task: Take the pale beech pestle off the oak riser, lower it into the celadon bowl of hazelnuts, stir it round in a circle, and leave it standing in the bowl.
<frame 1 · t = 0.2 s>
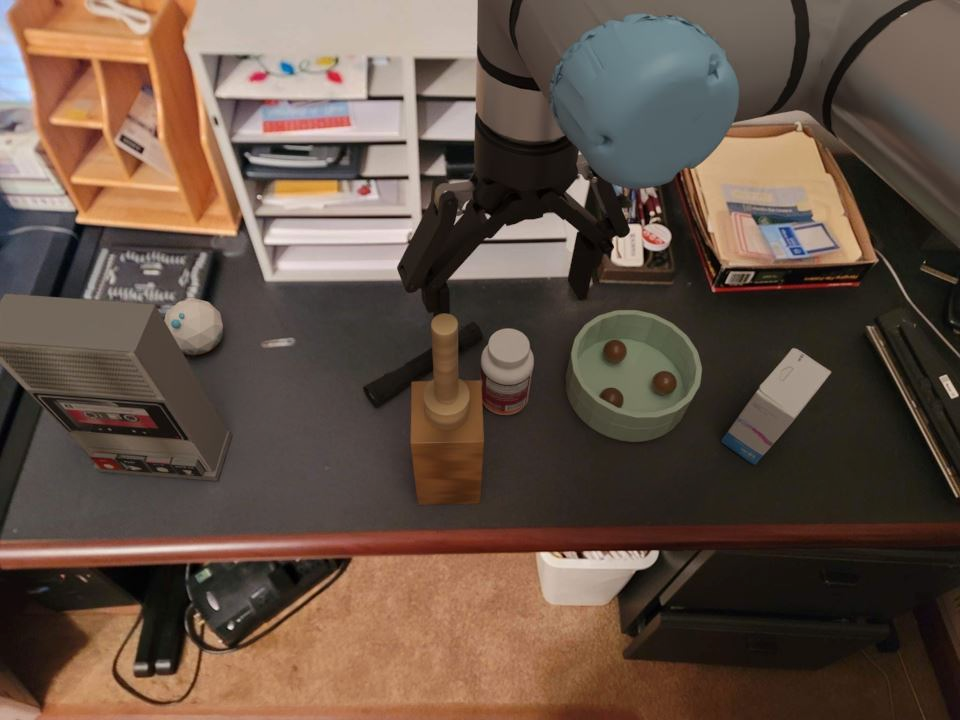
hand: (510, 308, 65), 23 cm above the table, tool pointing down, fingers open, 13 cm apart
hazelnut c: (664, 383, 86), point 2 cm above the table, touching bowl
hazelnut a: (614, 351, 88), point 2 cm above the table, touching bowl
ornament: (203, 344, 90), on the table
hazelnut b: (611, 399, 84), point 2 cm above the table, touching bowl
ink box: (755, 433, 85), on the table
pill bottle: (503, 396, 87), on the table
flashlight: (425, 370, 89), on the table
riser: (448, 476, 80), on the table
bowl: (626, 387, 88), on the table
pestle: (446, 410, 68), point 15 cm above the table, touching riser
cassette tape recorder: (167, 455, 81), on the table
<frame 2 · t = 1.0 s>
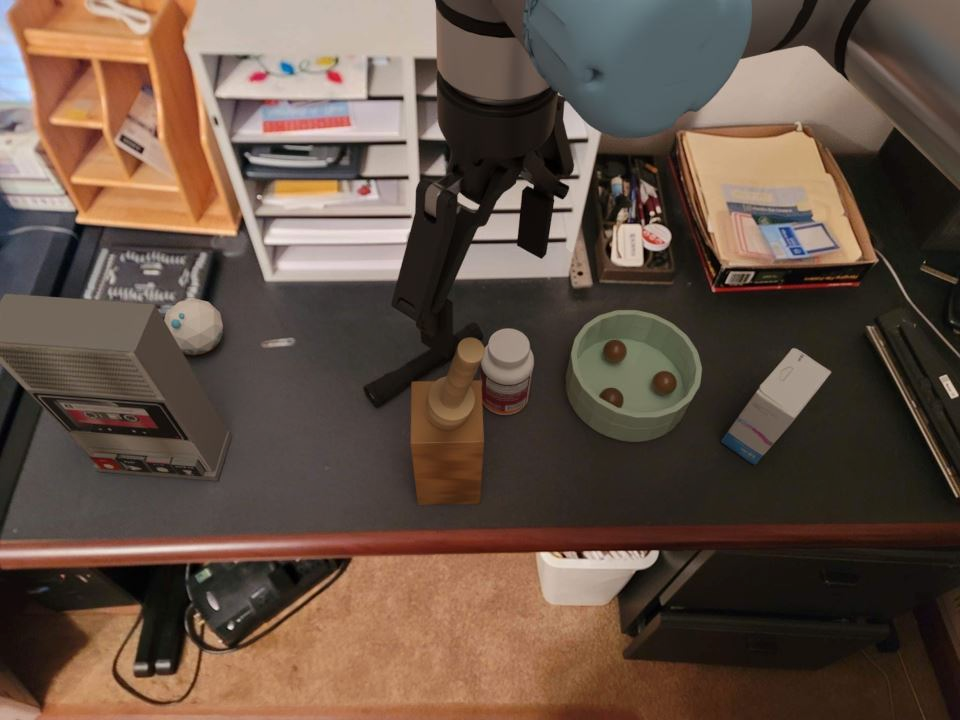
hand: (486, 296, 60), 28 cm above the table, tool pointing down, fingers open, 13 cm apart
pestle: (447, 408, 68), point 16 cm above the table, tilted 14°, touching gripper, riser
everything else where it was.
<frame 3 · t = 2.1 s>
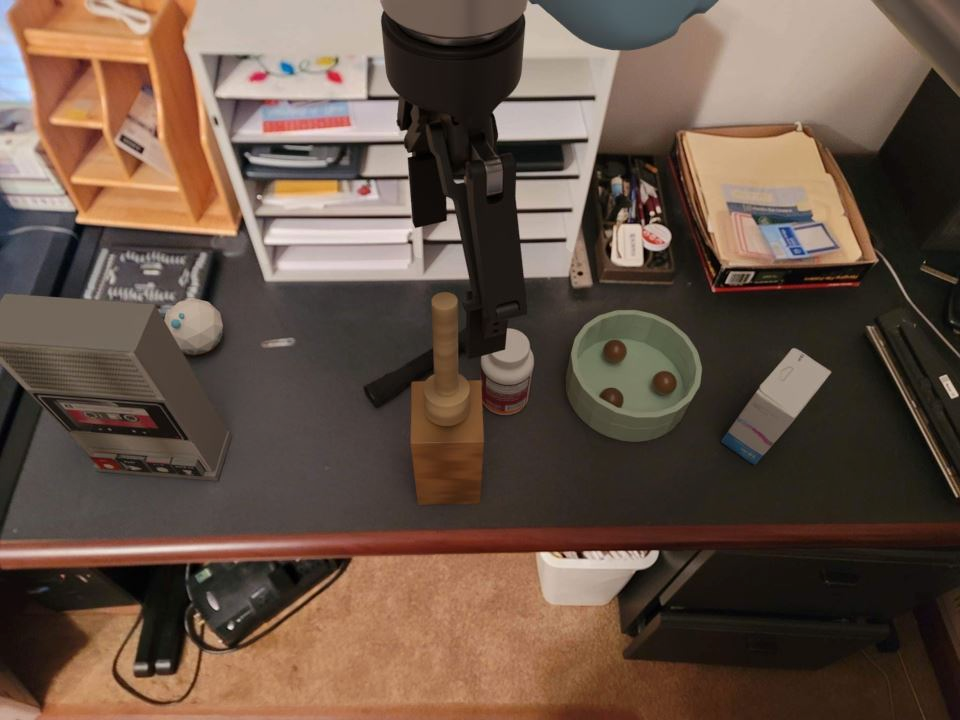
hand: (455, 282, 53), 33 cm above the table, tool pointing down, fingers open, 13 cm apart
pestle: (446, 408, 68), point 15 cm above the table, tilted 9°, touching riser
everything else where it was.
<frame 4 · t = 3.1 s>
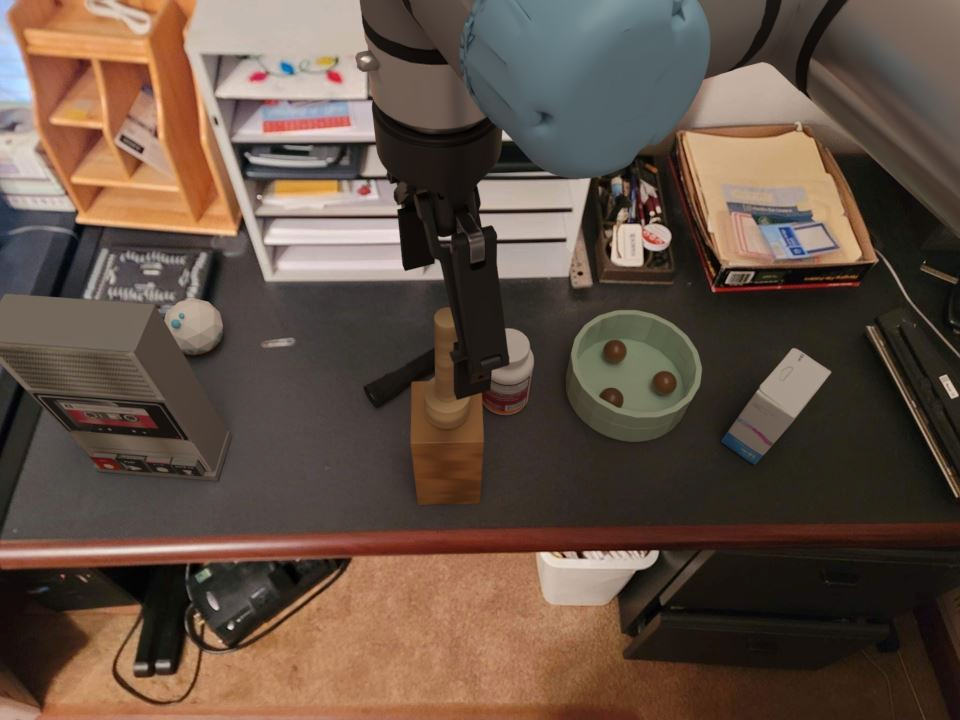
hand: (443, 324, 57), 29 cm above the table, tool pointing down, fingers open, 13 cm apart
pestle: (447, 410, 68), point 15 cm above the table, touching riser
everything else where it was.
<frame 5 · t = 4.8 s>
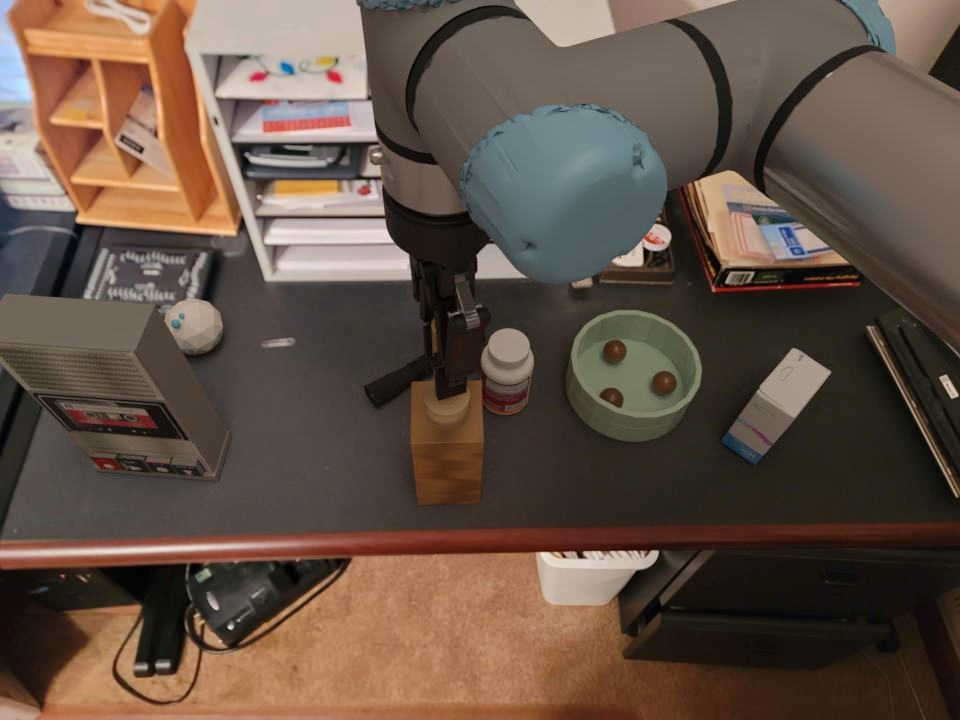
hand: (446, 380, 63), 20 cm above the table, tool pointing down, fingers closed on pestle, 2 cm apart
pestle: (447, 410, 68), point 15 cm above the table, touching gripper, riser
everything else where it was.
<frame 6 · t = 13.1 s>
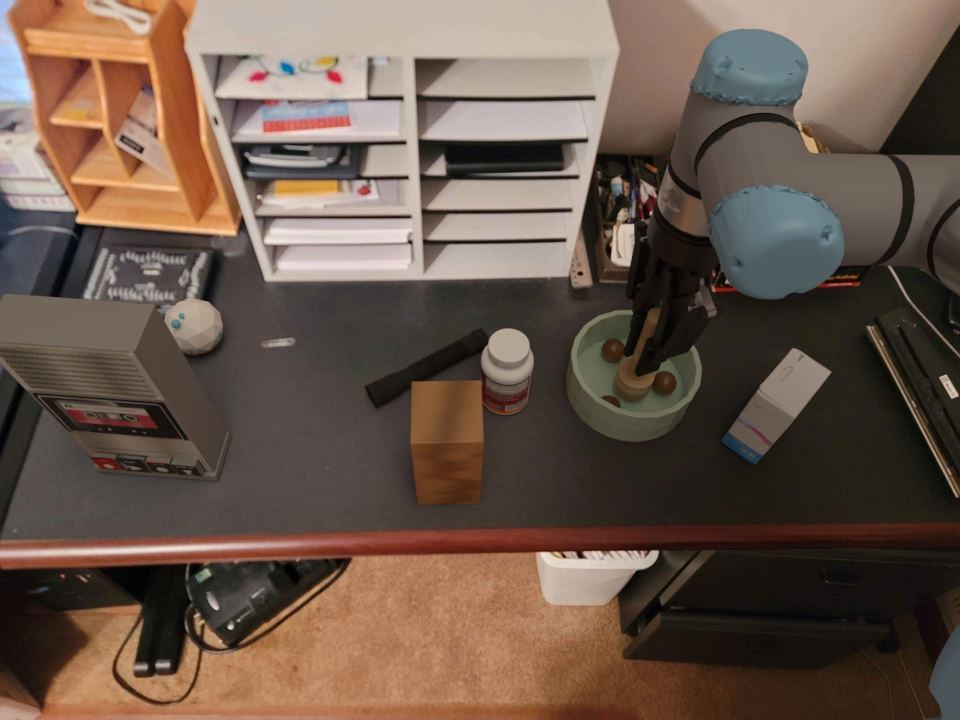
hand: (640, 361, 81), 8 cm above the table, tool pointing down, fingers closed on pestle, 2 cm apart
hazelnut a: (613, 350, 88), point 2 cm above the table, tilted 6°, touching bowl
hazelnut b: (608, 407, 83), point 2 cm above the table, tilted 44°, touching bowl
pestle: (631, 386, 85), point 2 cm above the table, touching gripper
everything else where it was.
when the fingers open (6 cm above the table, at t = 14.8 s): pestle stays where it is, resting on bowl.
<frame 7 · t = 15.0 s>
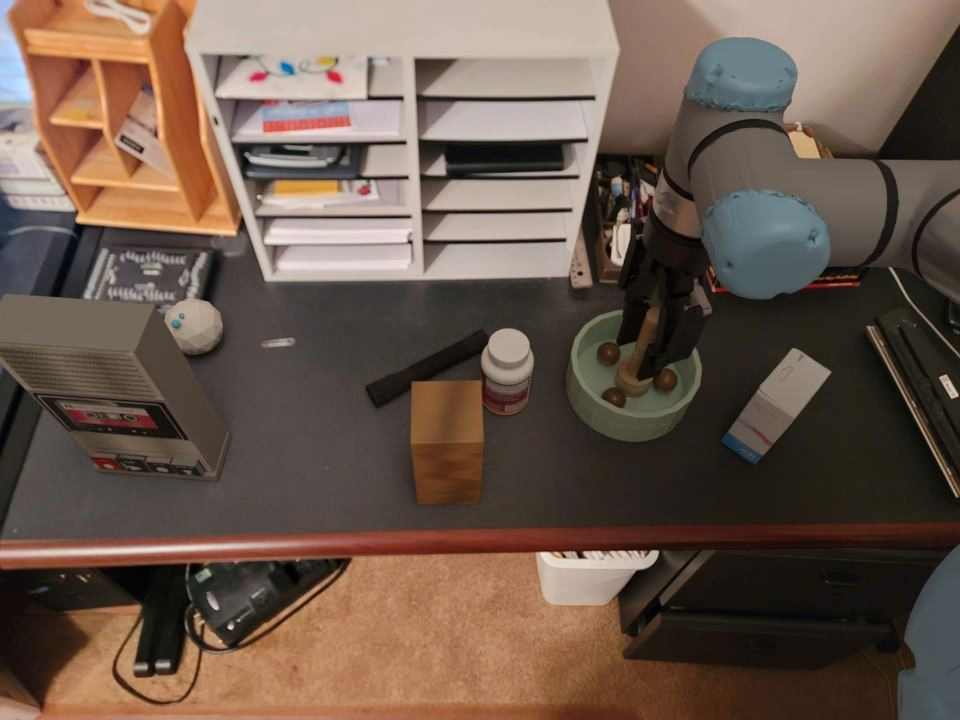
hand: (637, 358, 82), 7 cm above the table, tool pointing down, fingers open, 5 cm apart
hazelnut c: (665, 380, 86), point 2 cm above the table, tilted 15°, touching bowl
hazelnut a: (608, 353, 88), point 2 cm above the table, tilted 29°, touching bowl
hazelnut b: (613, 399, 84), point 2 cm above the table, tilted 12°, touching bowl
pestle: (631, 383, 87), point 1 cm above the table, touching bowl
everything else where it was.
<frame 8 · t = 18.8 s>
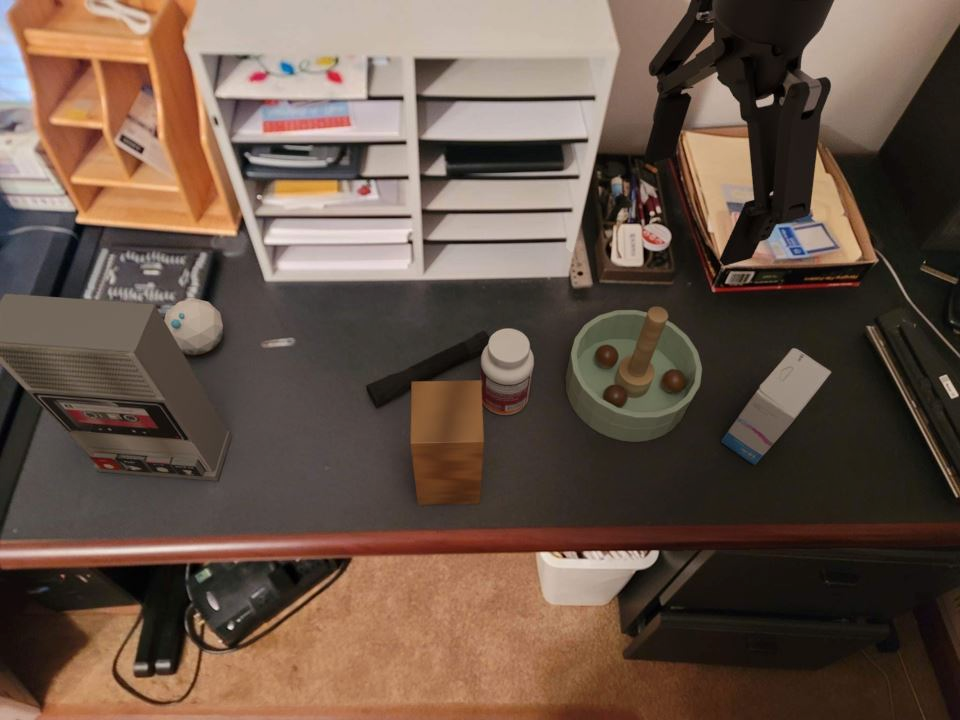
hand: (694, 206, 63), 31 cm above the table, tool pointing down, fingers open, 13 cm apart
hazelnut c: (673, 381, 86), point 2 cm above the table, tilted 46°, touching bowl
hazelnut a: (606, 356, 88), point 2 cm above the table, tilted 48°, touching bowl
hazelnut b: (615, 396, 84), point 2 cm above the table, tilted 27°, touching bowl
everything else where it was.
at the end: hazelnut a moved 1.4 cm from its start; hazelnut a inside the target area in the bowl (4.1 cm from its centre), point 2.3 cm above the bowl's base; pestle inside the target area in the bowl (0.6 cm from its centre), point 0.8 cm above the bowl's base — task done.
